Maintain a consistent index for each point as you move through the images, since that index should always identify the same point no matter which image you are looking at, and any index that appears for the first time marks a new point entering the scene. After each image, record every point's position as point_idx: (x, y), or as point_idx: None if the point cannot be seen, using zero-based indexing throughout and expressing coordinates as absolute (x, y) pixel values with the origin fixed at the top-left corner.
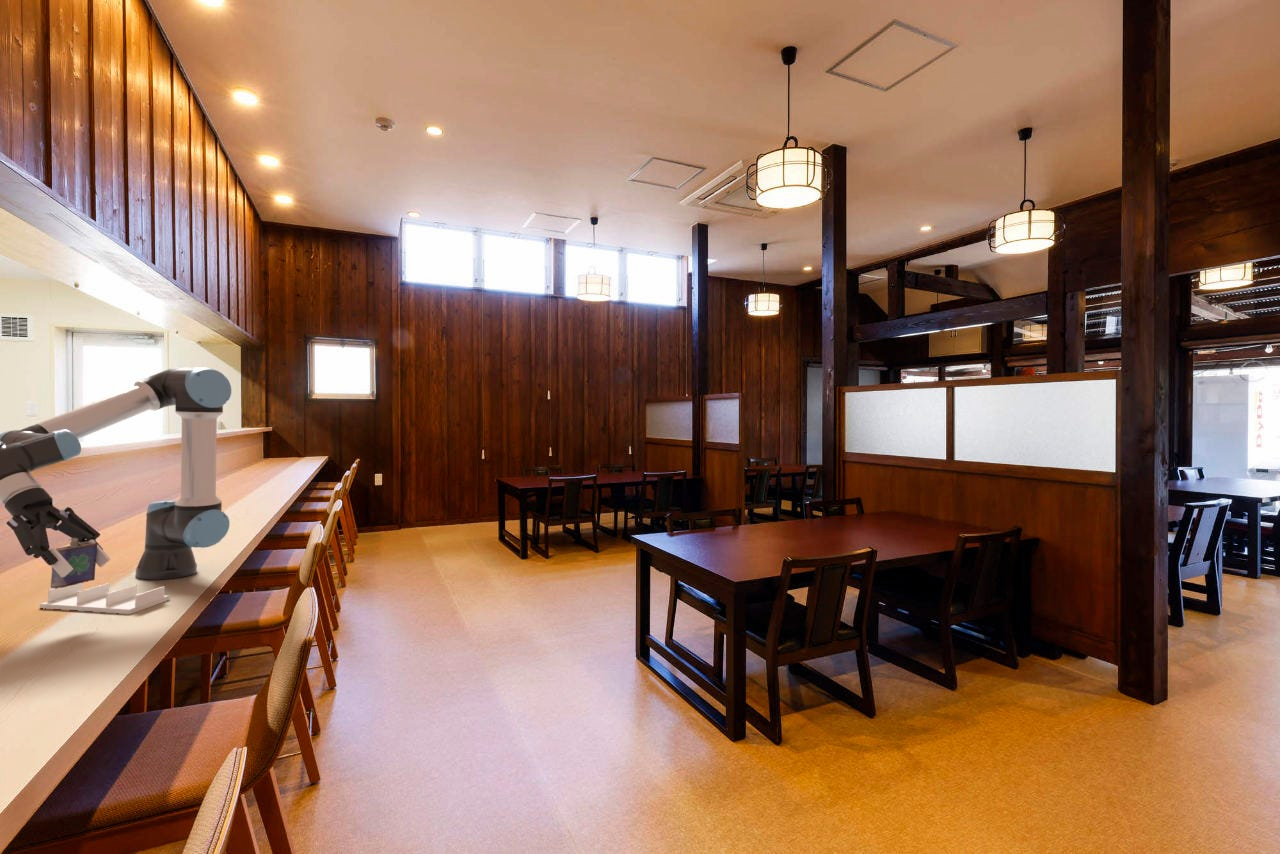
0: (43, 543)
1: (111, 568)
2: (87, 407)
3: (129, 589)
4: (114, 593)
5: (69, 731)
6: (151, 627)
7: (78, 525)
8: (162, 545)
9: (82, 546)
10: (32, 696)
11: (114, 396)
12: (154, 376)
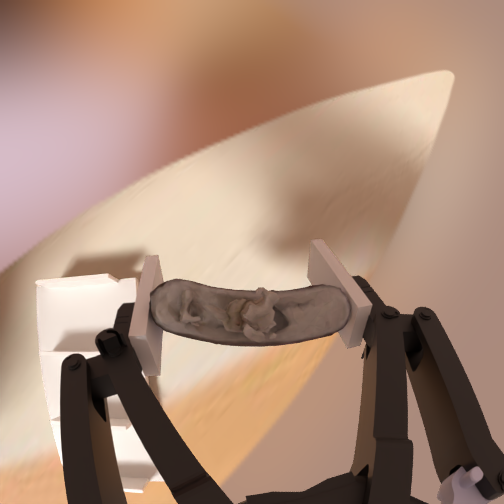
0: (400, 328)
1: None
2: None
3: (59, 351)
4: (97, 351)
5: (425, 76)
6: (200, 175)
7: (104, 464)
8: None
9: (232, 290)
10: (422, 130)
11: None
12: None
